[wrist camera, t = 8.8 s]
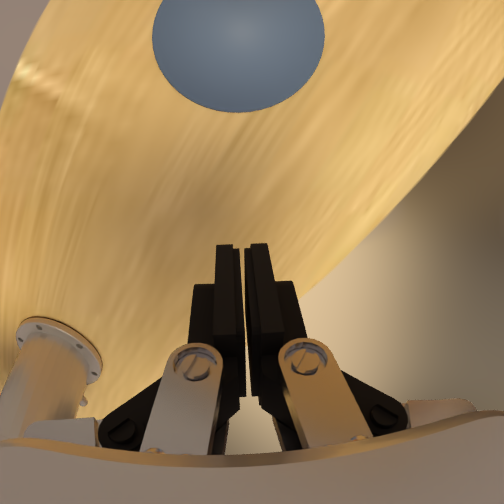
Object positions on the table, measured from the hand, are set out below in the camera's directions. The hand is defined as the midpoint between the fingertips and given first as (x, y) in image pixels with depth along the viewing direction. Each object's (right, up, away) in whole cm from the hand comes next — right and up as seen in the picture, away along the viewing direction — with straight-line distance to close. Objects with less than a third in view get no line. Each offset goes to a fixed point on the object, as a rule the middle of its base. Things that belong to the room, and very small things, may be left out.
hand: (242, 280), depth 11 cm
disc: (-1, +16, +7) cm, 18 cm away
